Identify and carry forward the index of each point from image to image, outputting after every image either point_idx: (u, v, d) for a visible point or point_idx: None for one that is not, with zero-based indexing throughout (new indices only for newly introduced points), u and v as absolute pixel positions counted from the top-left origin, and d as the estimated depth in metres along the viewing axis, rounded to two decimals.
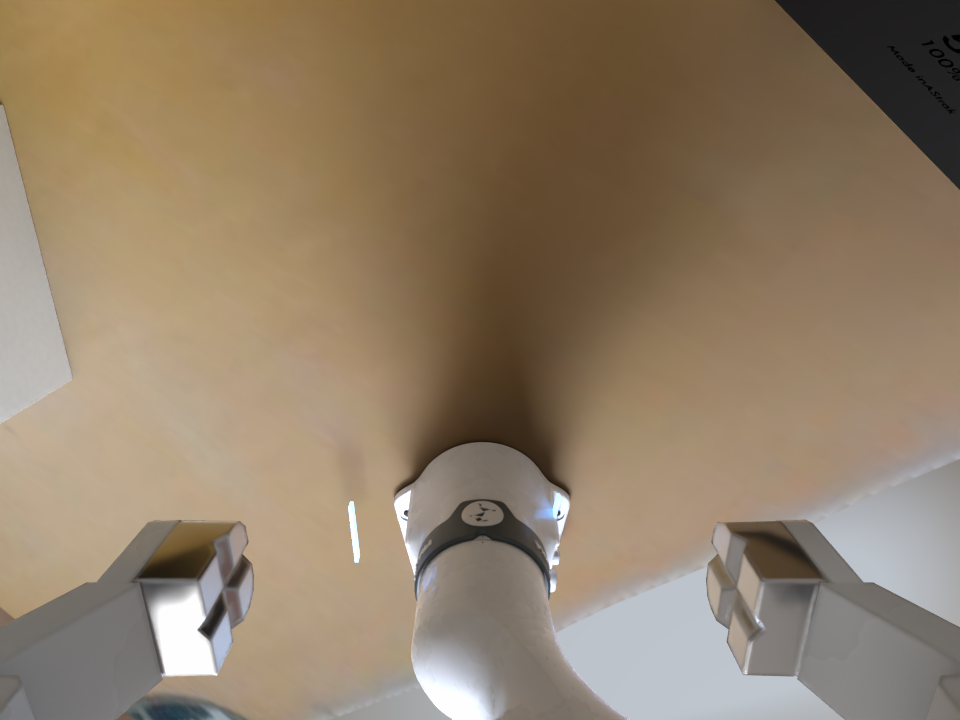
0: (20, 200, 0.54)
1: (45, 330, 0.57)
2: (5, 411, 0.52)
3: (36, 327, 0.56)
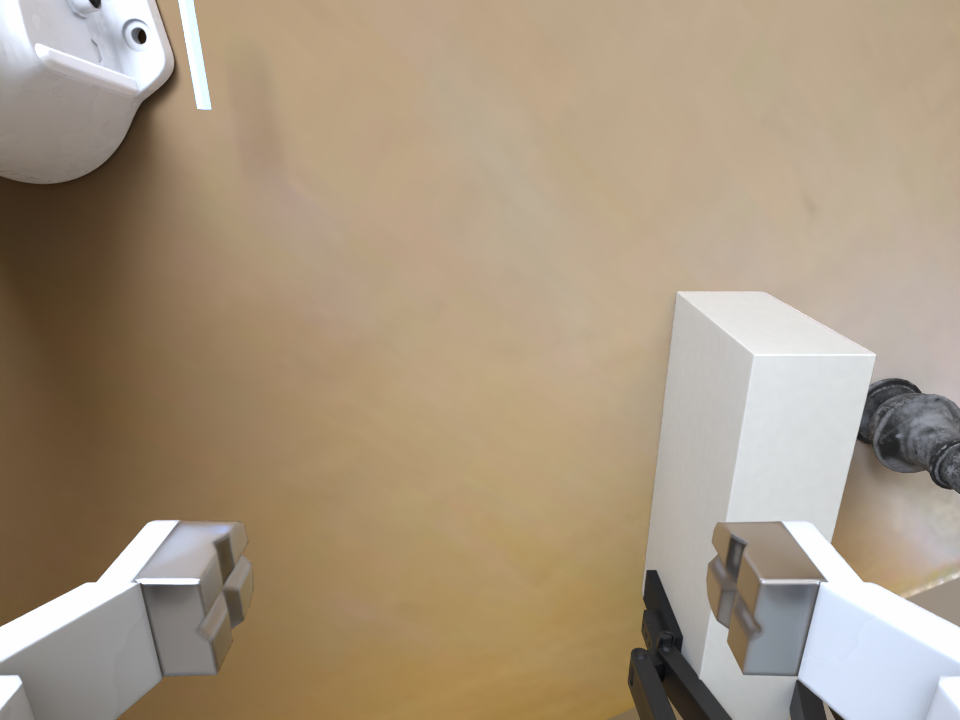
0: (654, 518, 0.46)
1: (675, 381, 0.41)
2: (725, 345, 0.33)
3: (679, 394, 0.41)
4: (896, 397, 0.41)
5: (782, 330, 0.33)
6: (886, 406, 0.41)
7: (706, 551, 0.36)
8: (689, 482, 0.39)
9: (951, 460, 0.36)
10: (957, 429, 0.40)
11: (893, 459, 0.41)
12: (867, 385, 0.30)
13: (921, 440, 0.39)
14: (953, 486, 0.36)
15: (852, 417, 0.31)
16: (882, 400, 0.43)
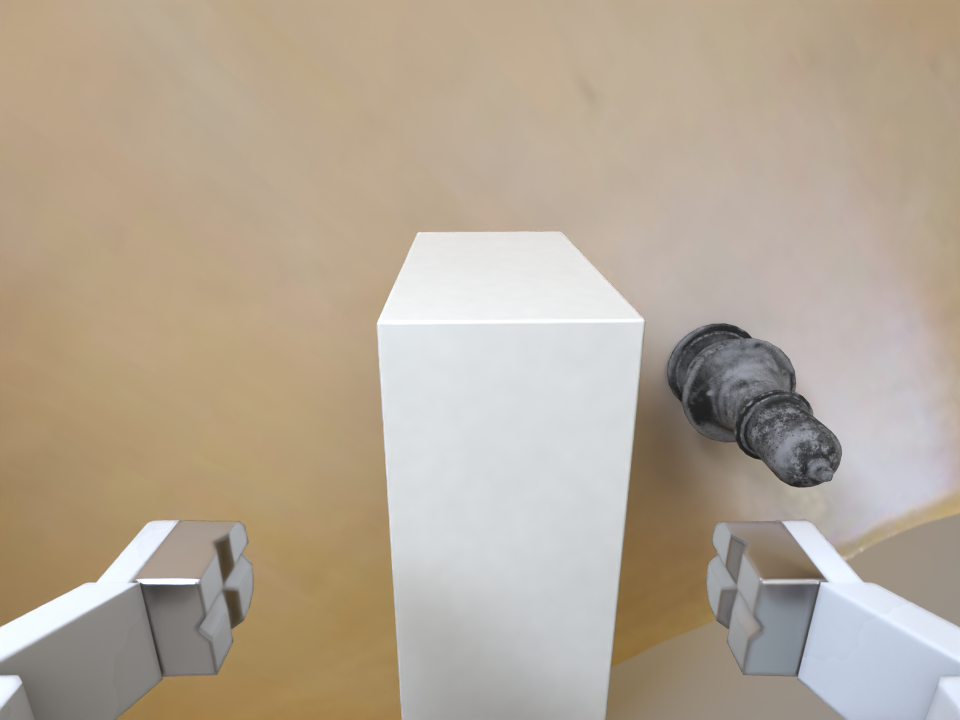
0: None
1: None
2: None
3: None
4: (712, 345, 0.32)
5: (507, 280, 0.17)
6: (699, 356, 0.32)
7: None
8: None
9: (756, 420, 0.27)
10: (786, 384, 0.31)
11: (709, 424, 0.32)
12: (634, 386, 0.14)
13: (731, 396, 0.30)
14: (758, 455, 0.27)
15: (611, 453, 0.15)
16: None
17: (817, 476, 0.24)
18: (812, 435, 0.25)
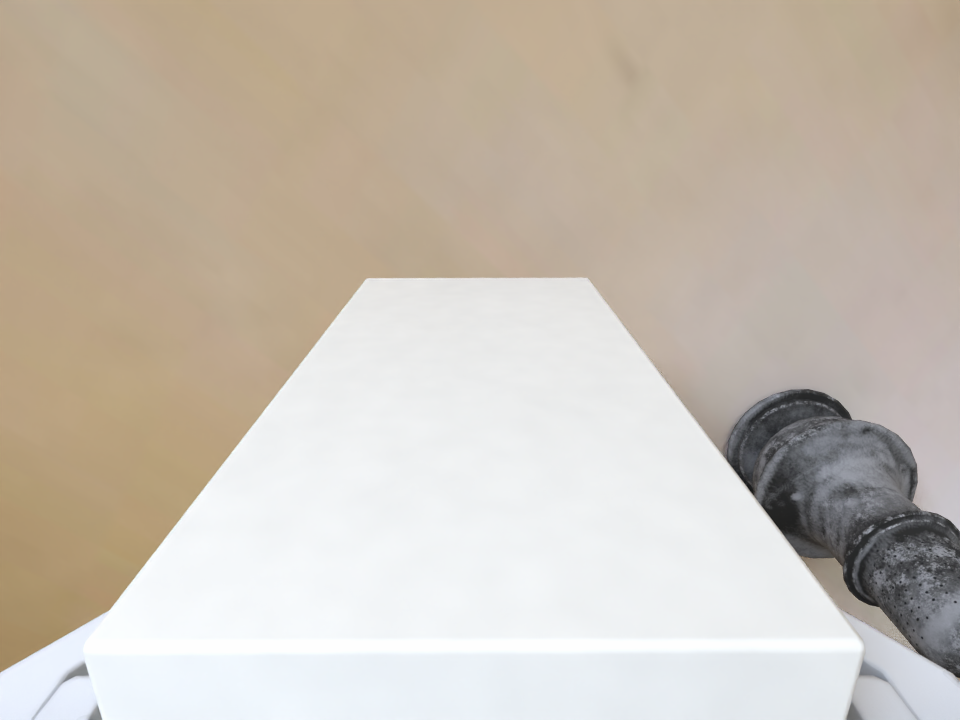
0: None
1: None
2: None
3: None
4: (797, 424, 0.23)
5: (486, 420, 0.08)
6: (778, 440, 0.23)
7: None
8: None
9: (881, 558, 0.18)
10: (905, 484, 0.22)
11: (791, 536, 0.23)
12: None
13: (832, 509, 0.20)
14: (885, 612, 0.18)
15: None
16: (781, 428, 0.25)
17: None
18: None
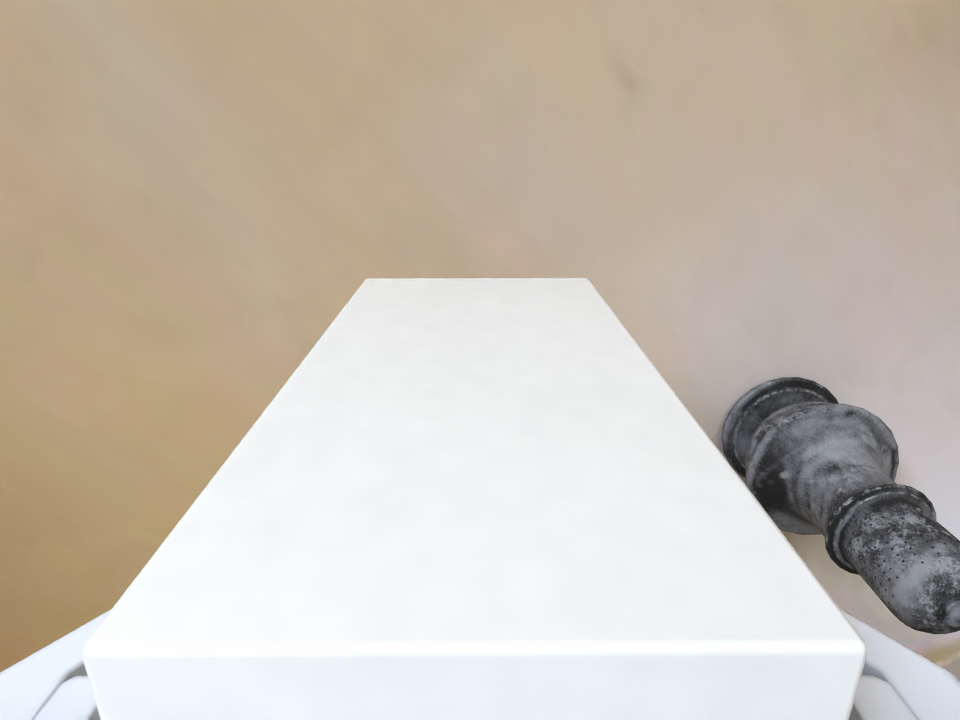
0: None
1: None
2: None
3: None
4: (786, 408, 0.25)
5: (487, 421, 0.08)
6: (768, 424, 0.24)
7: None
8: None
9: (858, 527, 0.20)
10: (887, 464, 0.24)
11: (780, 513, 0.24)
12: None
13: (816, 485, 0.22)
14: (862, 576, 0.20)
15: None
16: None
17: None
18: (952, 565, 0.17)
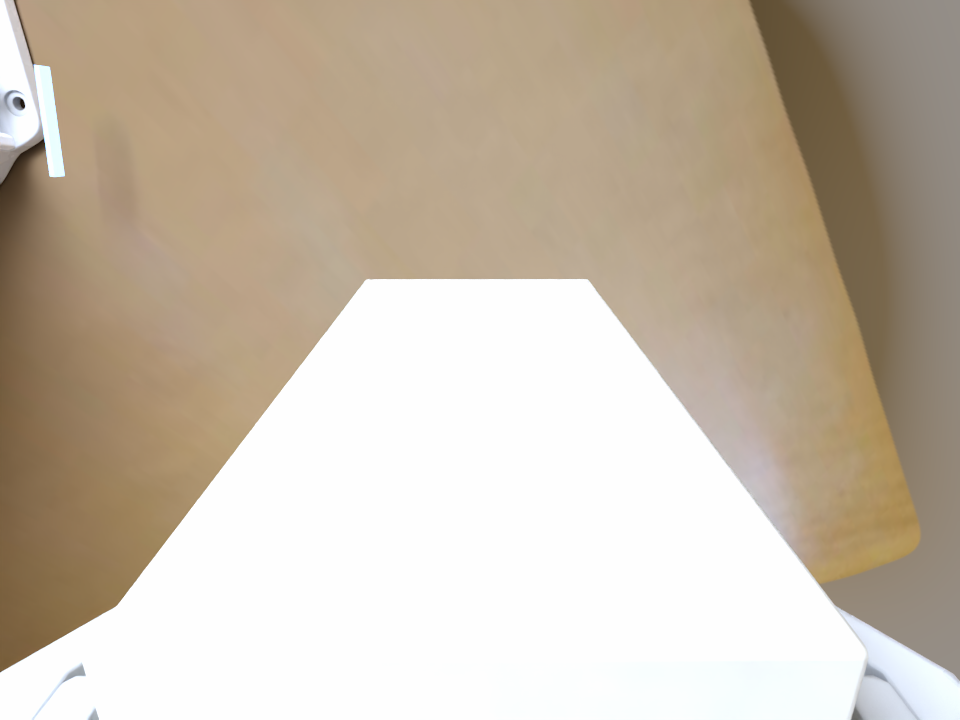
0: None
1: None
2: None
3: None
4: None
5: (487, 423, 0.08)
6: None
7: None
8: None
9: None
10: None
11: None
12: None
13: None
14: None
15: None
16: None
17: None
18: None
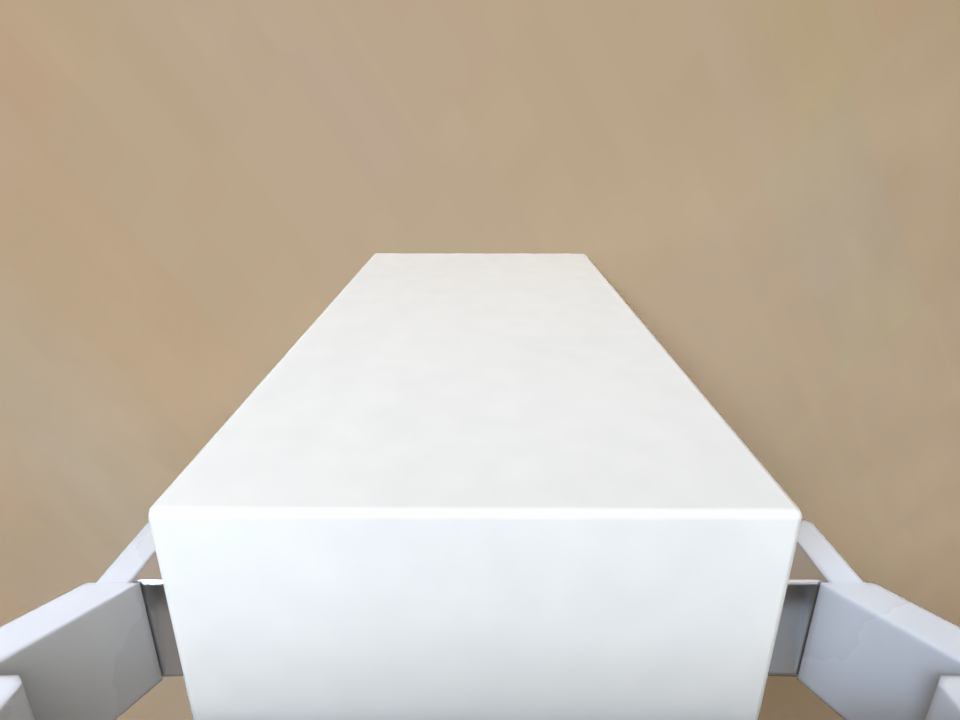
0: None
1: None
2: None
3: None
4: None
5: (487, 361, 0.09)
6: None
7: None
8: None
9: None
10: None
11: None
12: (763, 651, 0.06)
13: None
14: None
15: None
16: None
17: None
18: None
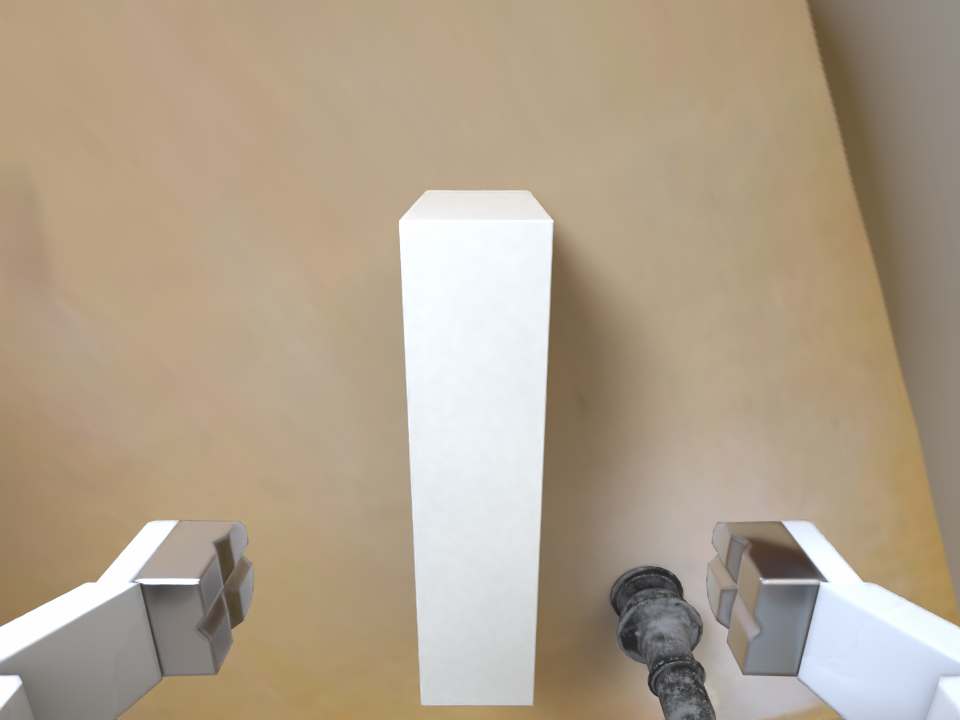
0: None
1: None
2: None
3: None
4: (646, 592, 0.42)
5: (480, 208, 0.27)
6: (634, 599, 0.42)
7: None
8: None
9: (663, 678, 0.37)
10: (695, 633, 0.42)
11: (633, 652, 0.42)
12: (549, 262, 0.24)
13: (651, 645, 0.40)
14: None
15: (537, 304, 0.25)
16: (641, 586, 0.44)
17: None
18: (696, 710, 0.35)
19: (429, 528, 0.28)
